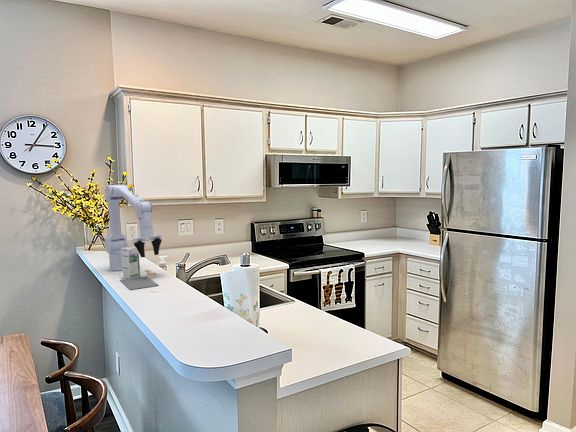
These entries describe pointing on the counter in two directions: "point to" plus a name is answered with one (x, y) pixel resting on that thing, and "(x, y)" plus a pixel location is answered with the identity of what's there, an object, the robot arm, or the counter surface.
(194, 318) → the counter surface
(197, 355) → the counter surface
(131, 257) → the syrup box
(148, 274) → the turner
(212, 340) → the counter surface
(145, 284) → the mat
